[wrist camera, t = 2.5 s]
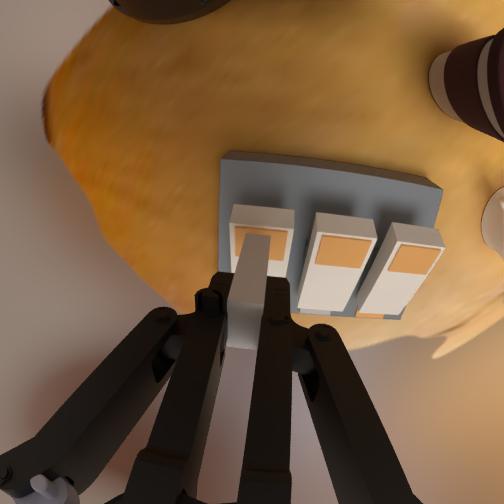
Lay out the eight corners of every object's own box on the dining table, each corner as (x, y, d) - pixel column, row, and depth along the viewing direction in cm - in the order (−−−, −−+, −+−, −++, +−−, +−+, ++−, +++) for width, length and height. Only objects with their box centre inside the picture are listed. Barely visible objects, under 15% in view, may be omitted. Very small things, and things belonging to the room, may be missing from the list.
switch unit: (228, 150, 28) (217, 162, 23) (426, 177, 27) (449, 194, 22) (224, 283, 35) (216, 312, 31) (391, 298, 34) (402, 326, 29)
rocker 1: (233, 203, 22) (228, 224, 21) (294, 209, 22) (293, 231, 20) (235, 283, 30) (232, 303, 28) (281, 288, 29) (279, 308, 28)
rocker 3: (391, 222, 21) (397, 243, 20) (438, 229, 21) (446, 249, 20) (356, 295, 29) (358, 314, 28) (395, 298, 29) (398, 316, 27)
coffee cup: (474, 36, 18) (574, 27, 5) (499, 123, 22) (597, 159, 9) (400, 46, 21) (493, 20, 8) (431, 141, 25) (529, 189, 12)
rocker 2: (316, 212, 22) (317, 233, 20) (373, 219, 22) (378, 240, 20) (297, 290, 29) (297, 309, 28) (341, 294, 29) (342, 313, 28)
